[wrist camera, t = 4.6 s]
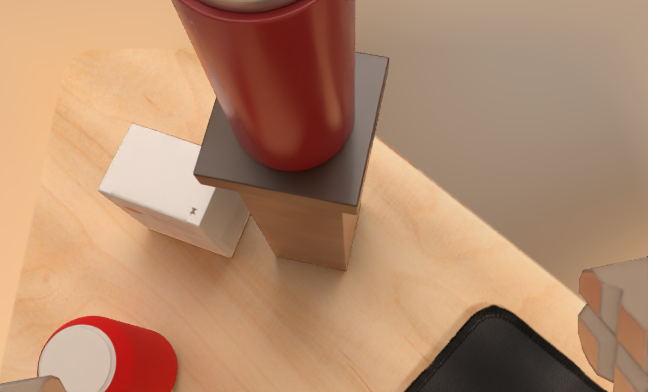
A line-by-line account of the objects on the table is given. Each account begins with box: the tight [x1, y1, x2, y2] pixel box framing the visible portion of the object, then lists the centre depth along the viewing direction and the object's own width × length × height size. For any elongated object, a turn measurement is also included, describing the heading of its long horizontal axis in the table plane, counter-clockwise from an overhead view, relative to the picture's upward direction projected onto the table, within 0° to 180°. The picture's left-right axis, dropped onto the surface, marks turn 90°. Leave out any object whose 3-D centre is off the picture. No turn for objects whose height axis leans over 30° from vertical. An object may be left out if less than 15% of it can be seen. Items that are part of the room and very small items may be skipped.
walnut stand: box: [193, 52, 389, 271], centre depth 39 cm, size 8×8×22 cm
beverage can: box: [37, 316, 177, 392], centre depth 41 cm, size 6×6×12 cm
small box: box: [98, 123, 250, 258], centre depth 46 cm, size 8×6×10 cm
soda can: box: [172, 0, 355, 171], centre depth 23 cm, size 6×6×13 cm
